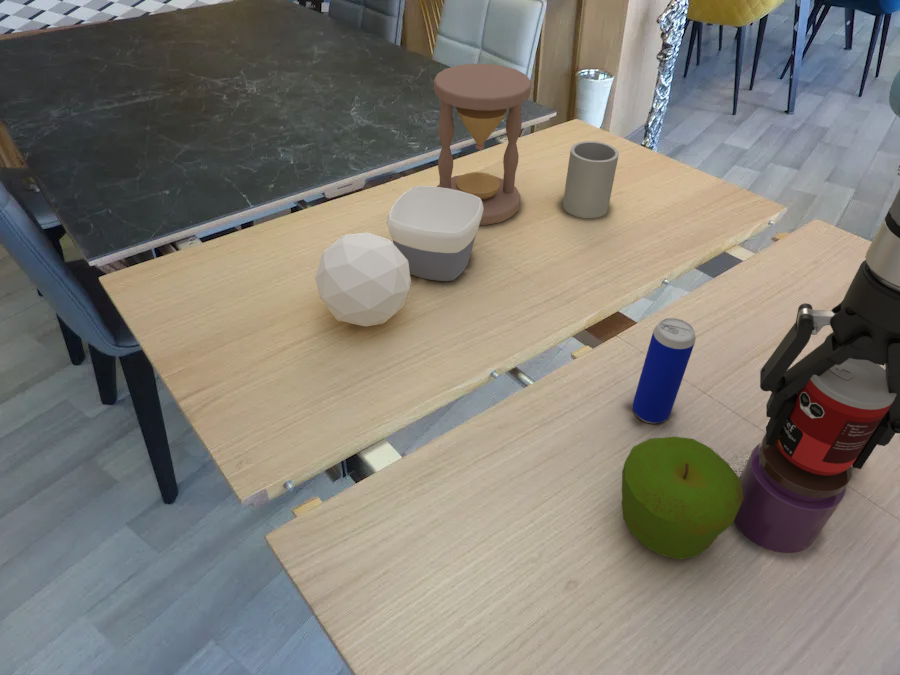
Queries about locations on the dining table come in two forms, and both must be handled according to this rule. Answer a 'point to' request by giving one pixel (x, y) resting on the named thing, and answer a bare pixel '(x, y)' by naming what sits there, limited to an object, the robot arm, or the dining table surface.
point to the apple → (678, 495)
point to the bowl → (435, 230)
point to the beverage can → (663, 369)
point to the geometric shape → (363, 279)
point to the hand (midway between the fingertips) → (811, 447)
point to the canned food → (835, 417)
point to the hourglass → (482, 130)
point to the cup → (590, 179)
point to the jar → (785, 500)
